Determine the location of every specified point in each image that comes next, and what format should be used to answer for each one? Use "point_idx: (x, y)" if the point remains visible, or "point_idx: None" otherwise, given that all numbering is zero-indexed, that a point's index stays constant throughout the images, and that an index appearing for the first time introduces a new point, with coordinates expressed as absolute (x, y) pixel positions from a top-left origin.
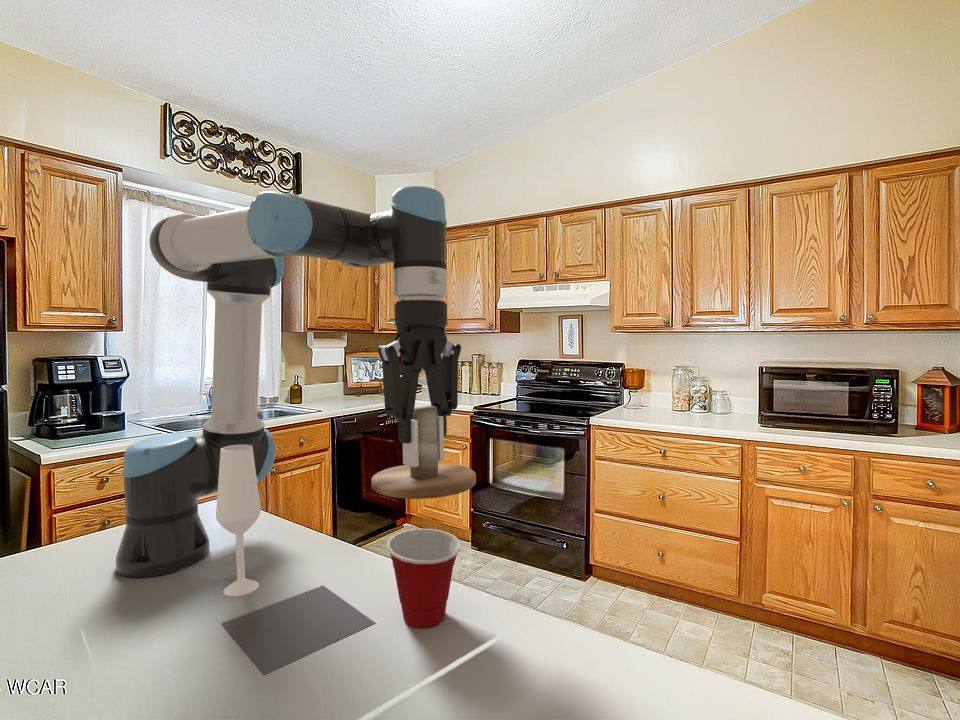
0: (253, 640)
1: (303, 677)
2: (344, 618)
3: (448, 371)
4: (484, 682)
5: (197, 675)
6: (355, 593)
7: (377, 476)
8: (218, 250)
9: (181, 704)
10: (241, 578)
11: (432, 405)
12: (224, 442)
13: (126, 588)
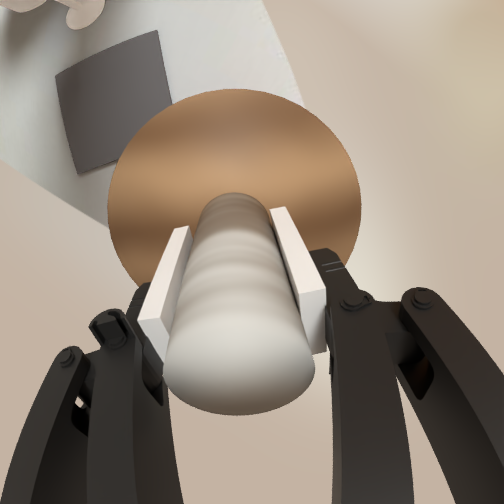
0: (73, 117)
1: (105, 186)
2: (153, 114)
3: (469, 493)
4: None
5: (41, 146)
6: (186, 58)
7: (127, 168)
8: None
9: (37, 177)
10: (76, 9)
11: (333, 339)
12: None
13: None
